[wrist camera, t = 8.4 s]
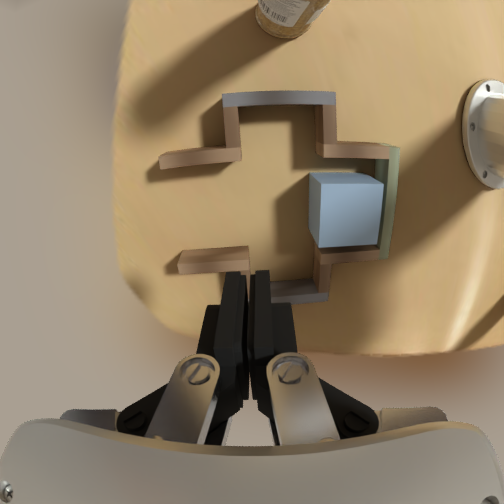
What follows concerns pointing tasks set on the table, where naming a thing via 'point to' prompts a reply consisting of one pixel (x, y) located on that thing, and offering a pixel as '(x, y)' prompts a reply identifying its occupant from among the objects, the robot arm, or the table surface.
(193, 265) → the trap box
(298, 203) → the table surface
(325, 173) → the slate block
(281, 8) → the sprinkles bottle
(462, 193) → the table surface
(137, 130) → the table surface
